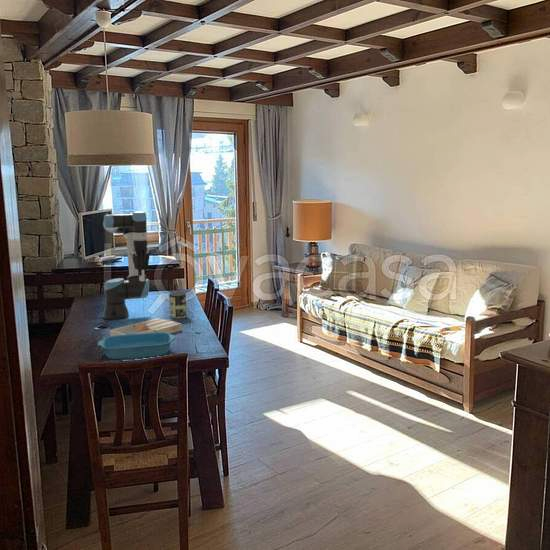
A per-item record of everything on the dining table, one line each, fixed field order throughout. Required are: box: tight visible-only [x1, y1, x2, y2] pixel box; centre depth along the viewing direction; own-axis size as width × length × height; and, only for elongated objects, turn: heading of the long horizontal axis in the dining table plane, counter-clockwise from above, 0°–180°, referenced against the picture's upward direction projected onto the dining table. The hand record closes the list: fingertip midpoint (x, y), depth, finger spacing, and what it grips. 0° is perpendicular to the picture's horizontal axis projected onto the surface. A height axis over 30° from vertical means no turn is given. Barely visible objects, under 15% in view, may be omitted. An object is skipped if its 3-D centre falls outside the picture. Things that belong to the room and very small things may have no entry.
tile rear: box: [133, 322, 148, 333], centre depth 306 cm, size 6×6×3 cm
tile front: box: [122, 330, 138, 334], centre depth 301 cm, size 6×6×3 cm
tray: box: [108, 323, 154, 337], centre depth 302 cm, size 18×16×4 cm
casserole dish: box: [97, 332, 176, 360], centre depth 276 cm, size 37×22×7 cm, turn 103°
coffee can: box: [168, 292, 188, 319], centre depth 348 cm, size 10×10×14 cm
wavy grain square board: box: [133, 317, 183, 334], centre depth 315 cm, size 20×18×4 cm
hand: (142, 280), depth 319 cm, fingers closed
